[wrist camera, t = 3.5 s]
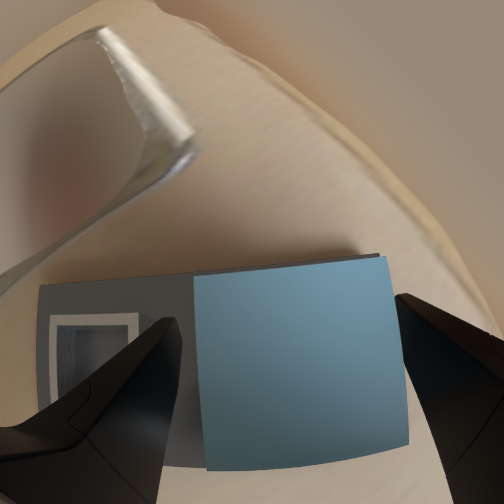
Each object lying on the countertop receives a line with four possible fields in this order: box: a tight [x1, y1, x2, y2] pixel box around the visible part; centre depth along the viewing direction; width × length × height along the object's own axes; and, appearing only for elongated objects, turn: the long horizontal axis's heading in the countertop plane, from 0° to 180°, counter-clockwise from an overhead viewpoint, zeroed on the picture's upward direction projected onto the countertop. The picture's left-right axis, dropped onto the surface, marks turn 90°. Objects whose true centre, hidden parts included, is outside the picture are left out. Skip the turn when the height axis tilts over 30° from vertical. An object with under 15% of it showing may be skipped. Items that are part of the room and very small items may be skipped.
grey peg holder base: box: [36, 253, 380, 468], centre depth 14 cm, size 22×11×8 cm, turn 95°
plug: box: [194, 256, 409, 471], centre depth 8 cm, size 4×4×7 cm
